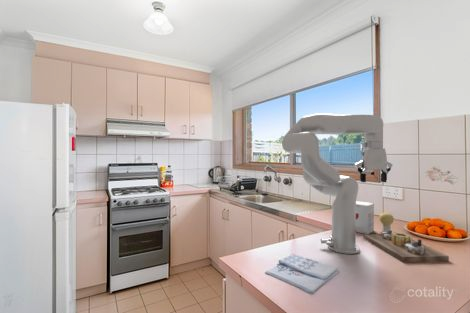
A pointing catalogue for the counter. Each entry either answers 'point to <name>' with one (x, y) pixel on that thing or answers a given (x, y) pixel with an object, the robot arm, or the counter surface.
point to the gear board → (406, 249)
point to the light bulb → (386, 221)
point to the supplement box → (364, 217)
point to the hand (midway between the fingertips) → (373, 181)
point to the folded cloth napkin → (313, 270)
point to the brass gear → (400, 239)
